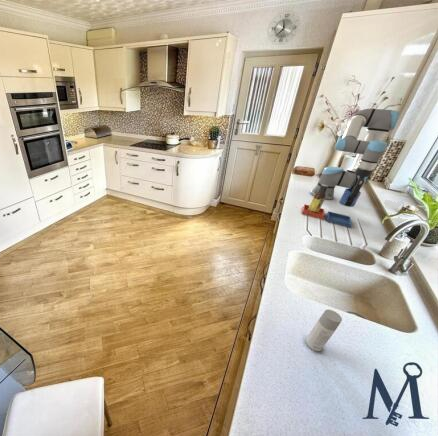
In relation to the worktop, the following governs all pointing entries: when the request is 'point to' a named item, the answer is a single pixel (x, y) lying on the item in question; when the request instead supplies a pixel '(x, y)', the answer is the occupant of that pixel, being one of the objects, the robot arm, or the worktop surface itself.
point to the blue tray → (339, 219)
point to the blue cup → (346, 196)
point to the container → (323, 330)
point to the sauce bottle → (318, 199)
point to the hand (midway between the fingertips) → (346, 203)
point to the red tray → (318, 215)
